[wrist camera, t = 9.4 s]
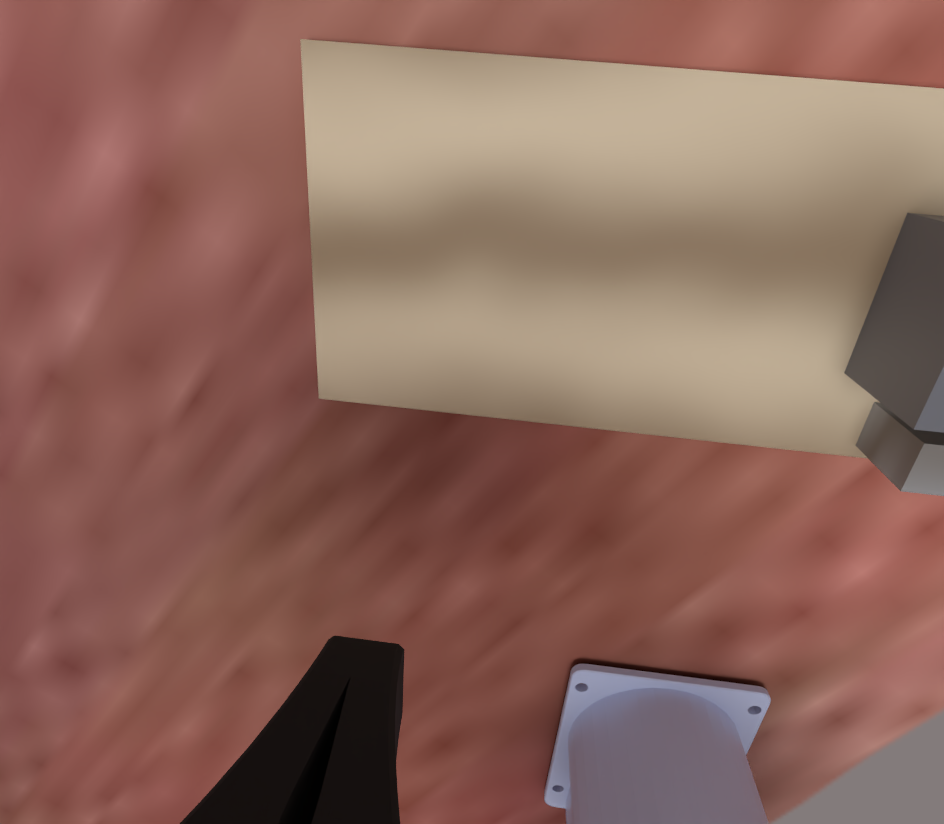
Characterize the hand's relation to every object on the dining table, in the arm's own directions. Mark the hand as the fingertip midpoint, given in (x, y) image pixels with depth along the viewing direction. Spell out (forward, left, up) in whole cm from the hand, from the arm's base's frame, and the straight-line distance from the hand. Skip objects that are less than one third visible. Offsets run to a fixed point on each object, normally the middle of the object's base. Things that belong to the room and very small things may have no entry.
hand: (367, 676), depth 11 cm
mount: (+6, -13, -10) cm, 17 cm away
